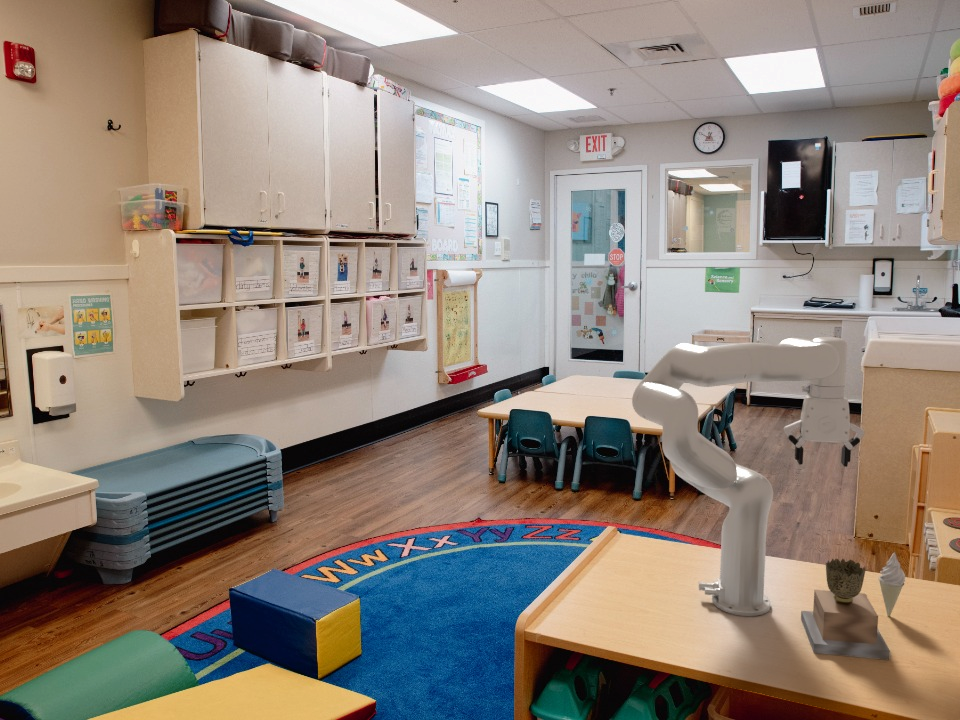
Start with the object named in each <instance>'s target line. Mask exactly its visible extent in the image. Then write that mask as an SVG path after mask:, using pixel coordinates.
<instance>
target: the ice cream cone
mask: <svg viewBox="0 0 960 720" xmlns="http://www.w3.org/2000/svg"><path fill="white" fill-rule="evenodd" d="M879 573H880V574H881V575H880V576H879V577H878V579H877V580H878V582H879V586H880V590H881V593H882V598H883V603H884V607H885V611H886V615H887V617H891V614H892V612H893V610H894V608H895V606H896V603H897V601H898V599H899V597H900V593H901V591H902V589H903V587H904V586H905V582H906V575H905V573H904V570H903V569H902V568H901V563H900V562H899V559H898V557H897V554H896V552H895V551H893V553H892V554H891V556H890V558H889V559H888V560H887V562H886V566H884V567H882V570H880V572H879Z"/></svg>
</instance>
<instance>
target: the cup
mask: <svg viewBox="0 0 960 720" xmlns="http://www.w3.org/2000/svg"><path fill="white" fill-rule="evenodd" d="M866 570H867V569H866V566H863V567H861V564H860V562H857V563H856V561H854V560H852V559H849V560H847V561H846V559H844V558H842V559H841V560H839V558H835V559H834V558H832V559H831V561H829V559H828V560H827V562H825V571H826V572H825V573H826V585H827V587H828V589H829V591H831V592H832V593H833V594H834V600H835V601H836V602H838V603H840V604H844V605H848V604H851V603H852V602H853V597H856V596H857V595H858V594H859V593H861V591H862V589H863V584H864V580H865V573H866Z"/></svg>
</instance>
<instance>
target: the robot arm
mask: <svg viewBox="0 0 960 720" xmlns="http://www.w3.org/2000/svg"><path fill="white" fill-rule="evenodd" d="M847 354H848V343H847V341H846V340H845V339H844V338H841V337H833V336H819V337H815V338H802V337H790V338H786V339H782V340H781V342H779V343H778V344H776V345H775V344H770V343H765V342H763V343H762V342H740V343H730V344H721V345H712V346H711V345H709V346H702V345H698V344H693V343H688V342H681V343H679V344H677V345H674V346H673V347H672V348H671V349H669V350H668V351H667V352H666V353H665V354H664V355H663V356H662V357H661V358H660V359H659V360H658V362H657V363H656V364H654V366H653V367H652V368H651V370H650V371H649V372H648V373H647V374H646V375H645V376H644V378H643V379H642V380H641V381H640V382H639V383H638V384H637V386H636V388H635V390H634V391H633V395H632V398H631V402H632V403H631V404H632V407H633V410H634V412H635V413H636V414H637V415H638V416H639V417H640V418H643V419H645V420H646V421H649V422H652V423H654V424H656V425H658V426H661V427H662V432H661V434H662V435H661V436H662V437H661V444H662V445H661V447H662V448H661V449H662V451H663V455H664V456H665V457H666V458H667V460H669V463H670V466H671V469H672V471H673V472H674V473H675V474H676V475H677V476H678V477H679V478H681V479H682V480H683V481H684V482H686V483H688V484H689V485H691V486H693V487H694V488H696V489H697V490H698V491H700V492H701V493H703V494H705V495H706V496H708V497H709V498H711V499H713V500H716V501H717V502H720V503H722V504H723V505H725V506H727V507H728V508H729V510H728V513H727V515H726V517H725V518H724V519H723V522H722V525H721V526H722V527H721V534H720V535H721V539H720V540H721V543H720V544H721V545H720V546H721V547H720V567H719V568H720V571H719V573H720V574H719V577H717V579H716V580H717V581H712V582H706V581H698V591H704V595H708V596H711V600H712V603H713V604H714V606H715V607H716V608H718V609H719V610H721V611H723V612H726V613H728V614H731V615H736V616H741V617H755V616H762V615H764V614H766V613H768V612H769V611H770V610H771V600H770V599H769V598H768V596H767V595H765V594H764V593H765V592H764V590H765V572H766V571H765V570H766V551H767V550H766V549H767V531H768V529H767V528H768V520H769V516H770V515H769V514H770V510H771V508H772V503H773V500H774V489H773V486H772V484H771V482H770V481H769V480H768V478H766V476H764V475H763V474H761V473H760V472H758V471H756V470H753V469H751V468H749V467H746V466H743V465H740V464H738V463H736V462H735V461H734V459H733V457H732V456H731V455H730V453H728V452H727V451H726V450H724V449H723V448H721V447H720V446H718V445H716V444H714V443H713V442H711V440H709V439H708V438H707V437H705V436H704V435H702V434H701V433H700V432H699V427H698V423H699V408H698V404H697V402H696V400H695V399H694V397H693V396H692V395H691V394H689V393H688V392H687V391H685V390H682V389H681V387H682V386H683V384H684V383H687V384H689V385H694V386H697V387H702V388H703V387H704V388H710V387H711V388H713V387H718V386H719V387H720V386H728V385H733V384H735V385H736V384H742V383H751V382H756V383H757V382H758V383H759V382H762V383H764V382H765V383H766V382H767V383H770V382H802V381H803V382H804V381H808V382H807V384H806V385H802V386H801V393H802V392H803V393H807V395H805V396H804V398H803V402H802V406H801V407H802V408H801V414H800V419H799V420H797V421H794V422H792V423H790V424H788V425H785V426H784V427H783V431H784V433H785V435H786V436H787V438H788V440H789V441H790V442H791V443H792V444H793V445H794V460H795V461H797V464H798V465H799V466H801V465H803V463H804V447H803V445H804V444H805V443H806V442H815V443H816V442H817V443H834V444H835V443H841V444H843V446H841V456H840V457H841V458H840V463H841V465H842V466H843V467H846V468H847V467H849V466H848V465H849V463H850V462H851V456H852V454H851V453H852V450H853V449H854V448H855V447H856V446H858V444H860V442H861V440H862V438H863V437H864V436H865V434H866V431H865V430H864V429H863V428H861V427H859V426H857V425H855V424H853V423H851V420H850V419H851V418H850V416H851V415H850V404H849V400H848V398H847V397H845V388H846V387H845V386H846V372H847V371H846V369H847V368H846V367H847ZM797 429H799V435H798V436H797V437H795V436H794V434H793V431H794V430H797ZM850 431H852V432H854V433H855V435H854V436H853V437H851V438H850V436H851V435H850V433H851V432H850Z"/></svg>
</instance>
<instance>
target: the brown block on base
mask: <svg viewBox="0 0 960 720" xmlns="http://www.w3.org/2000/svg"><path fill="white" fill-rule="evenodd" d="M813 591H814V594H813V608H812V609H813V611H812V610H811V611H809V610H801V612H800V621H801V622H802V626H803V628H804V630H805V634H806V637H807V639H808V642H809V645H810V648H811V650H812V653H813V654H822V655H834V656H845V657H853V658H854V657H855V658H865V659H866V658H867V659H874V660H875V659H878V660H884V661H885V660H886V661H889V660H890V655H891V650H890V648H889V646H888V645H887V642H886V641H885V639H884V637H883V635H882V633H881V632H880V629H879V628H878V624H879V615H878V614H877V611H876V610H875V608H874V606H873V605H872V603H871V601H870V599H869V598H868V596H867V595H866V593H862V592H860V593H859V594H858V595H857V596H856V597H853V602H852V603H851V604H848V605H844V604H840V603H838V602H836V601H835V600H834V594H833V593H832V592H831V591H830V590H825V589H814V590H813Z"/></svg>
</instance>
